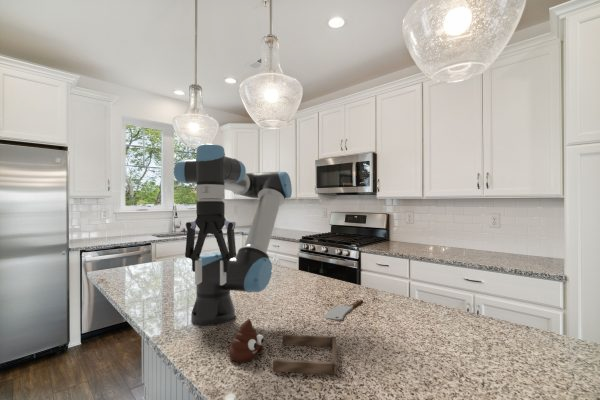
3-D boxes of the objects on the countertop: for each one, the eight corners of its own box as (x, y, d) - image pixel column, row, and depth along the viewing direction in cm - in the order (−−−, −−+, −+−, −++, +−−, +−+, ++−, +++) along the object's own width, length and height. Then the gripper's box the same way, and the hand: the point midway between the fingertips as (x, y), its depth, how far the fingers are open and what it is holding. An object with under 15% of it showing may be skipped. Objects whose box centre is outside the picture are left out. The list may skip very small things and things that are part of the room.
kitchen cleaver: (346, 297, 126) (368, 300, 120) (346, 299, 126) (368, 302, 120) (315, 315, 107) (339, 320, 101) (315, 318, 107) (339, 323, 101)
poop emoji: (247, 343, 86) (246, 311, 86) (270, 350, 82) (270, 316, 82) (222, 358, 78) (222, 323, 78) (246, 367, 73) (246, 330, 74)
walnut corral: (272, 371, 72) (272, 360, 72) (283, 342, 86) (283, 334, 86) (336, 375, 70) (336, 364, 70) (336, 345, 84) (336, 336, 84)
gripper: (170, 200, 79) (170, 286, 79) (240, 200, 77) (240, 288, 76) (184, 201, 86) (184, 279, 86) (248, 200, 84) (248, 280, 84)
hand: (210, 283), depth 81 cm, fingers open, 6 cm apart
